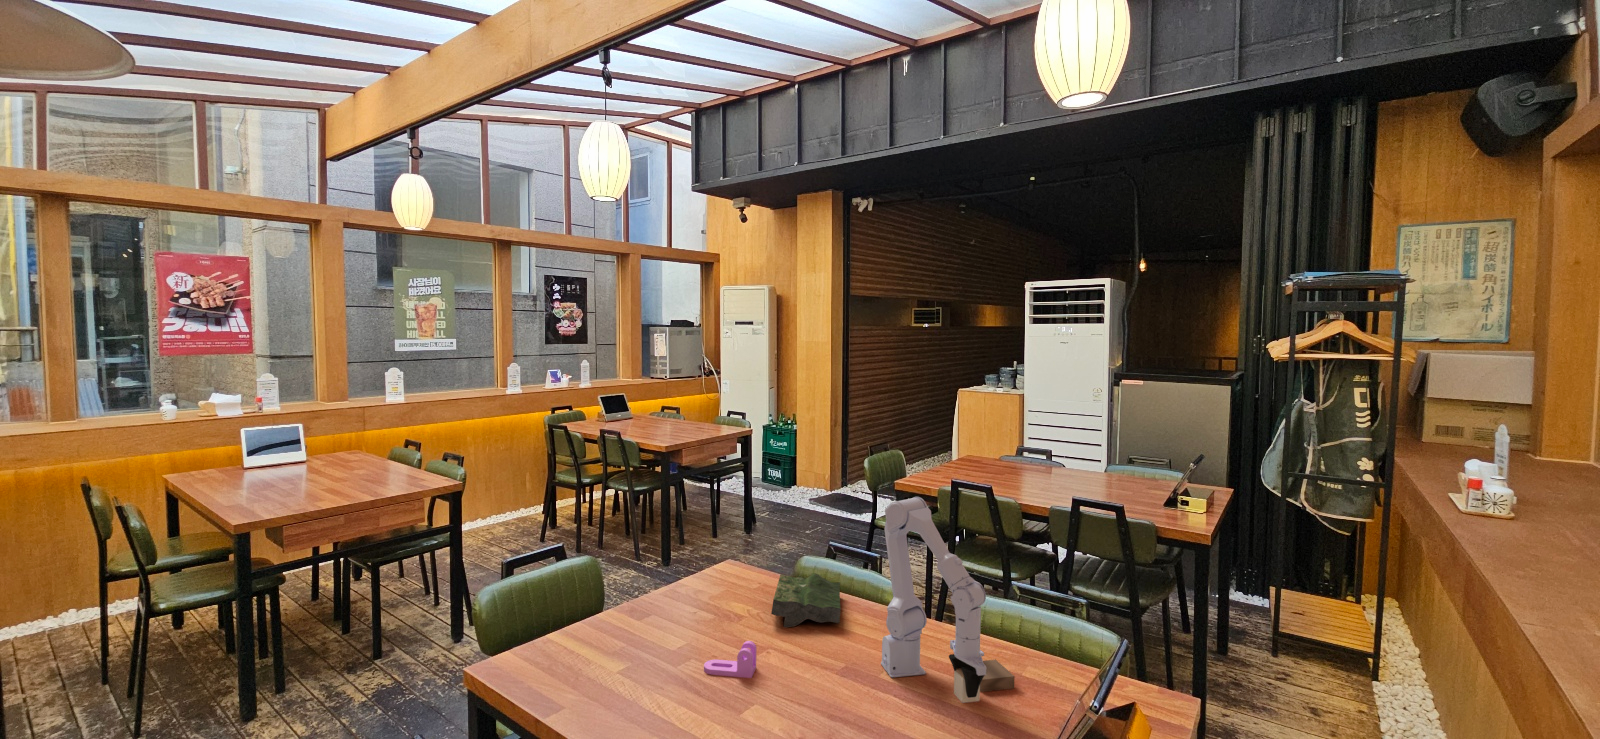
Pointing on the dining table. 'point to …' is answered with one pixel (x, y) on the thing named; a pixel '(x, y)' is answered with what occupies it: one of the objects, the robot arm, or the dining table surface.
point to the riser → (996, 677)
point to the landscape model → (806, 600)
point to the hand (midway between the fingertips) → (966, 691)
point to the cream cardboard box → (963, 688)
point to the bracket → (735, 663)
